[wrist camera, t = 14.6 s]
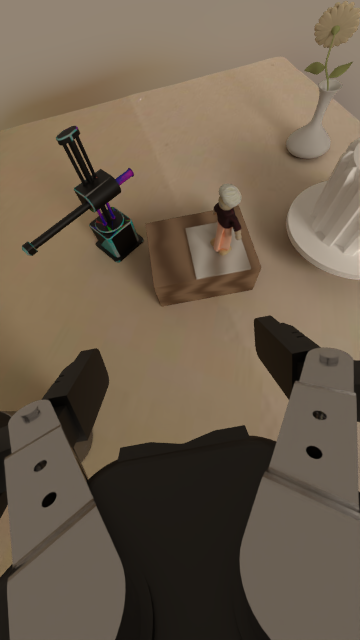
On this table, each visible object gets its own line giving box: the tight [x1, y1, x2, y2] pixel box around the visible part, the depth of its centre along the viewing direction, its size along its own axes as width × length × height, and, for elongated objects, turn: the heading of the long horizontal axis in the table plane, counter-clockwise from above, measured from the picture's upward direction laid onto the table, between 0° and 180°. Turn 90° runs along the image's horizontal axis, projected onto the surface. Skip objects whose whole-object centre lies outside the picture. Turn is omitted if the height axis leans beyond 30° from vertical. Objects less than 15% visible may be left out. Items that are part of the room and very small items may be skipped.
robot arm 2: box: [22, 126, 144, 262], centre depth 45 cm, size 25×9×24 cm, turn 137°
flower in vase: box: [286, 1, 360, 159], centre depth 53 cm, size 13×11×25 cm
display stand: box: [146, 206, 261, 306], centre depth 48 cm, size 20×16×9 cm
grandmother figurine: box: [210, 184, 242, 256], centre depth 37 cm, size 8×4×13 cm, turn 41°
